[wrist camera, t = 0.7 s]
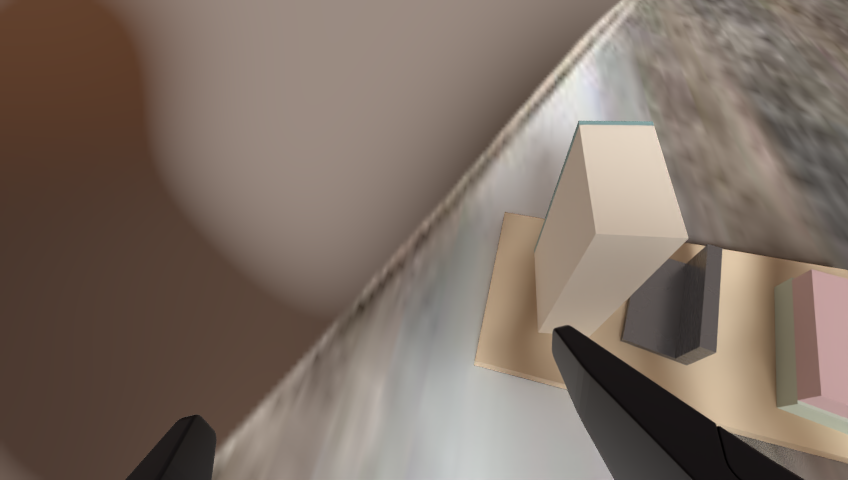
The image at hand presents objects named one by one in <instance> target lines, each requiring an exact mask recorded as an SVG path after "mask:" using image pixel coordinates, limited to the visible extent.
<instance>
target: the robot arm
mask: <svg viewBox="0 0 848 480" xmlns="http://www.w3.org/2000/svg"><path fill="white" fill-rule="evenodd" d="M552 354H553V357H554V360H555V362H556V364H557V367H558V369H559V371H560V374H561V376H562V378H563V381H564V383H565V385H566V388H567V390H568V392H569V394H570V397H571V399H572V401H573V404H574V406H575V408H576V411H577V413H578V415H579V417H580V419H581V421H582V422H583V424H584V426H585V428H586V430H587V432H588V433H589V435H590V437H591V439H592V440H593V442H594V444H595V446H596V448H597V449H598V451H599V453H600V455H601V457H602V458H603V460H604V462H605V464H606V465H607V467H608V469H609V471H610V473H611V474H612V476H613V478H614V480H804V479H803V478H801V477H799V476H798V475H796V474H794V473H793V472H791V471H789V470H788V469H786V468H784V467H783V466H781V465H779V464H778V463H776V462H774V461H773V460H771V459H769V458H768V457H766V456H765V455H763V454H762V453H760V452H759V451H757V450H756V449H754V448H752V447H751V446H749V445H748V444H746V443H745V442H743V441H742V440H740V439H739V438H737V437H736V436H734V435H733V434H731V433H730V432H728V431H727V430H725V429H724V428H722V427H721V426H717V425H716V423H715V422H713V421H712V420H710V419H709V418H707V417H706V416H704V415H703V414H701V413H700V412H698V411H697V410H695V409H694V408H692V407H691V406H689V405H688V404H686V403H685V402H683V401H682V400H680V399H679V398H678V397H676V396H675V395H673V394H672V393H670V392H669V391H667V390H666V389H664V388H663V387H661V386H660V385H658V384H657V383H655V382H654V381H652V380H651V379H649V378H648V377H646V376H645V375H643V374H642V373H640V372H639V371H637V370H636V369H634V368H633V367H631V366H630V365H629V364H627V363H626V362H624V361H623V360H621V359H620V358H618V357H617V356H615V355H614V354H612V353H611V352H609V351H608V350H606V349H605V348H603V347H602V346H600V345H599V344H597V343H596V342H594V341H593V340H591V339H590V338H588V337H587V336H585V335H584V334H582V333H581V332H580V331H578V330H577V329H575V328H574V327H572V326H570V325H564V326H560V327H556V328H554V329H553V332H552ZM215 448H216V433H215V431H214V430H213V429H212V428H211V427H210V425H209V424H208V423H207V422H206V421H205V420H204V419H203V418H202V417H201V416H200V415H192V416H188V417H184V418H181V419H179V420H178V421H177V422H176V423H175V424H174V425H173V426H172V427H171V429H170V430H169V431H168V432H167V433H166V434H165V435H164V437H163V438H162V439H161V440H160V441H159V442H158V443H157V445H156V446H155V447H154V448H153V449H152V450H151V451H150V452H149V453H148V455H147V456H146V457H145V458H144V459H143V460H142V461H141V463H140V464H139V465H138V466H137V467H136V468H135V469H134V471H133V472H132V473H131V474H130V475H129V476H128V477H127V478H126V480H212V472H213V464H214V456H215Z"/></svg>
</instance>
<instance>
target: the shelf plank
mask: <svg viewBox="0 0 848 480" xmlns="http://www.w3.org/2000/svg"><path fill="white" fill-rule="evenodd" d="M544 220H545V219H542V218H537V217H531V216H525V215H519V214H513V213H507V212H505V214H504V219H503V224H502V229H501V234H500V239H499V244H498V249H497V254H496V259H495V264H494V269H493V274H492V279H491V283H490V288H489V293H488V298H487V303H486V308H485V313H484V318H483V323H482V328H481V333H480V338H479V343H478V348H477V352H476V357H475V363H474V365H476V366H479V367H483V368H487V369H491V370H495V371H498V372H502V373H506V374H510V375H514V376H517V377H521V378H525V379H529V380H533V381H536V382H540V383H544V384H548V385H552V386H555V387H559V388H563V389H567V388H566V385H565V383H564V381H563V378H562V376H561V374H560V371H559V369H558V367H557V364H556V362H555V360H554V357H553V354H552V334H549V333H538V321H537V300H536V278H535V257H534V249H535V247H536V244H537V241H538V238H539V235H540V232H541V229H542V226H543V223H544ZM704 247H705V246H702V245H696V244H690V243H683V244H682V245H681V246H680V247H679V248H678V249H677V250H676V251H675V252H674V253H673V254H672V255H671V256H670V257H669V259H673V260H676V261H679V262H683V263H687V262H688V261H690V260H691V259H692V258H693V257H694V256H695V255H696V254H697V253H699V252H700V251H701V250H702V249H703V248H704ZM811 269H813V270H817V271H820V272H824V273H828V274H831V275H835V276H838V277H842V278H845V279H848V270H844V269H838V268H832V267H826V266H820V265H814V264H808V263H802V262H796V261H790V260H785V259H779V258H773V257H767V256H761V255H755V254H749V253H743V252H737V251H731V250H725V249H722V265H721V282H720V299H719V317H718V334H717V351H716V353H714V354H712V355H710V356H708V357H705V358H703V359H701V360H698V361H696V362H694V363H692V364H689V365H684V364H681V363H678V362H676V361H673V360H670V359H668V358H665V357H662V356H660V355H657V354H654V353H652V352H649V351H646V350H643V349H641V348H638V347H635V346H633V345H630V344H627V343H625V342H622V341H620V340H621V335H622V330H623V324H624V319H625V314H626V308H627V303H628V299H627V300H626V301H625V302H624V303H623V304H622V305H621V306H620V307H619V308H618V309H617V310H616V311H615V312H614V313H613V314H612V315H611V316H610V317H609V318H608V319H607V320H606V321H605V322H604V323H603V324H602V325H601V326H600V327H599V328H598V329H597V330H596V331H595V332H594V333H593V334H592V335H591V336H590V337H588V338H590V339H591V340H593V341H594V342H596V343H597V344H599V345H600V346H602V347H603V348H605V349H606V350H608V351H609V352H611V353H612V354H614V355H615V356H617V357H618V358H620V359H621V360H623V361H624V362H626V363H627V364H629V365H630V366H631V367H633V368H634V369H636V370H637V371H639V372H640V373H642V374H643V375H645V376H646V377H648V378H649V379H651V380H652V381H654V382H655V383H657V384H658V385H660V386H661V387H663V388H664V389H666V390H667V391H669V392H670V393H672V394H673V395H675V396H676V397H678V398H679V399H680V400H682V401H683V402H685V403H686V404H688V405H689V406H691V407H692V408H694V409H695V410H697V411H698V412H700V413H701V414H703V415H704V416H706V417H707V418H709V419H710V420H712V421H713V422H715V423H716V425H717V426H721V427H722V428H724V429H725V430H727V431H728V432H730V433H734V434H738V435H741V436H745V437H749V438H753V439H757V440H760V441H764V442H768V443H772V444H776V445H779V446H783V447H787V448H791V449H795V450H798V451H802V452H806V453H810V454H814V455H817V456H821V457H825V458H829V459H833V460H836V461H840V462H844V463H848V434H845V433H842V432H840V431H837V430H834V429H832V428H829V427H826V426H824V425H821V424H819V423H816V422H813V421H811V420H808V419H805V418H803V417H800V416H797V415H795V414H792V413H789V412H787V411H784V410H781V409H779V408H777V394H776V346H775V299H774V287H776V286H777V285H779V284H781V283H783V282H784V281H786V280H788V279H790V278H796V277H798V276H800V275H802V274H804V273H805V272H807V271H809V270H811Z"/></svg>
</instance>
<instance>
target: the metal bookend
mask: <svg viewBox="0 0 848 480" xmlns="http://www.w3.org/2000/svg"><path fill="white" fill-rule="evenodd" d="M721 265H722V248H720V247H717V246H713V245H710V244H707V245H706V246H705V247H704V248H703V249H702V250H701V251H700V252H699V253H697V254H696V255H695V256H694V257H693V258H692V259H691V260H690V261H688V262H687V263H683V262H679V261H676V260H673V259H669V258H668V259H667V260H666V261H665V262H664V263H663V264H662V265H661V266H660V267H659V268H658V269H657V270H656V271H655V272H654V273H653V274H652V275H651V276H650V277H649V278H648V279H647V280H646V281H645V282H644V283H643V284H642V285H641V286H640V287H639V288H638V289H637V290H636V291H635V292H634V293H633V294H632V295H631V296H630V297H629V298H628V303H627V308H626V314H625V319H624V324H623V330H622V335H621V340H620V341H622V342H625V343H627V344H630V345H633V346H635V347H638V348H641V349H643V350H646V351H649V352H652V353H654V354H657V355H660V356H662V357H665V358H668V359H670V360H673V361H676V362H678V363H681V364H684V365H689V364H692V363H694V362H696V361H698V360H701V359H703V358H705V357H708V356H710V355H712V354H714V353H716V351H717V334H718V317H719V299H720V282H721Z"/></svg>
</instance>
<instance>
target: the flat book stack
mask: <svg viewBox="0 0 848 480" xmlns="http://www.w3.org/2000/svg"><path fill="white" fill-rule="evenodd" d="M774 299H775V346H776V394H777V408H779V409H781V410H784V411H787V412H789V413H792V414H795V415H797V416H800V417H803V418H805V419H808V420H811V421H813V422H816V423H819V424H821V425H824V426H826V427H829V428H832V429H834V430H837V431H840V432H842V433H845V434H848V279H845V278H842V277H838V276H835V275H831V274H828V273H824V272H820V271H817V270H813V269H811V270H809V271H807V272H805V273H804V274H802V275H800V276H798V277H796V278H790V279H788V280H786V281H784V282H783V283H781V284H779V285H777V286H776V287H774Z"/></svg>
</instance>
